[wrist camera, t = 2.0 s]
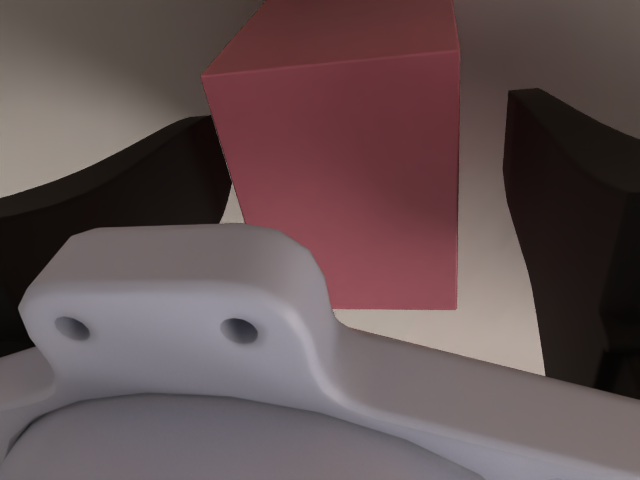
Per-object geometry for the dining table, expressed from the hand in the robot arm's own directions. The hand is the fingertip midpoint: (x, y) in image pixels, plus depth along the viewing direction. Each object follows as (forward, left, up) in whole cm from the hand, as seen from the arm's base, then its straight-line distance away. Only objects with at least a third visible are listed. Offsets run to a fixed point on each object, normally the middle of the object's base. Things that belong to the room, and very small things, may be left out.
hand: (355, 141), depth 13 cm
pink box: (0, 0, -3) cm, 3 cm away
